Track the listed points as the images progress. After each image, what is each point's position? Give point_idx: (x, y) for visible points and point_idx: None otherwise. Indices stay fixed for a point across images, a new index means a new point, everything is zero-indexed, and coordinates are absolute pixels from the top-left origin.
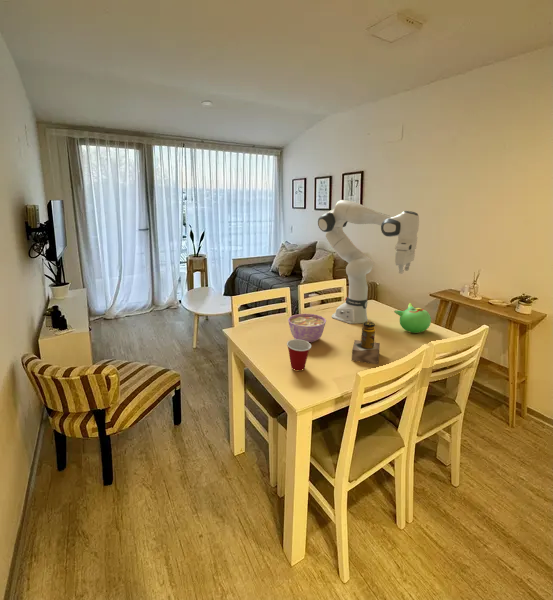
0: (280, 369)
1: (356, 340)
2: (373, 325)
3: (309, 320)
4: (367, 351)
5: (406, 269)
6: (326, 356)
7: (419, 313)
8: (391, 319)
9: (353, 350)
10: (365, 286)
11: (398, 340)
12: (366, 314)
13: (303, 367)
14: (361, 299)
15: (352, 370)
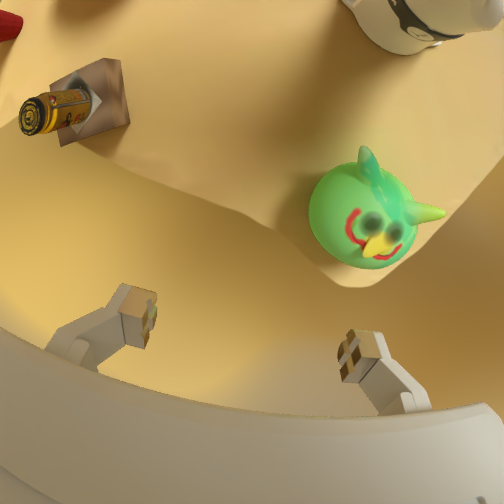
0: None
1: (102, 63)
2: (26, 134)
3: None
4: None
5: (349, 348)
6: (66, 30)
7: (343, 245)
8: (438, 136)
9: (50, 87)
10: (456, 4)
11: (253, 158)
12: (405, 45)
13: (6, 40)
14: (409, 4)
15: None
